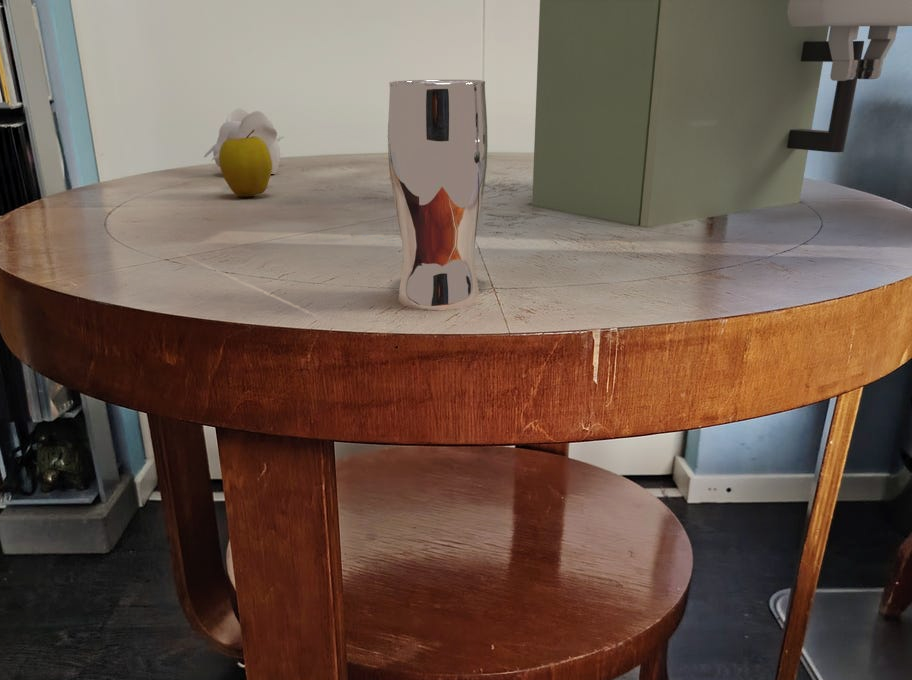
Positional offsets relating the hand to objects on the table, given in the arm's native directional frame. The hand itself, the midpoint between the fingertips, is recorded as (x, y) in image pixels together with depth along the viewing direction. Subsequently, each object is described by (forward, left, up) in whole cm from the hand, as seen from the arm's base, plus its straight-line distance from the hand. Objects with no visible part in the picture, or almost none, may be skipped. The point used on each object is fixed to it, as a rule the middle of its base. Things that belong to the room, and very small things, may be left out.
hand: (854, 80), depth 88 cm
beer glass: (+35, +37, -14) cm, 53 cm away
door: (+9, +4, -13) cm, 17 cm away
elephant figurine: (+76, -32, -14) cm, 84 cm away
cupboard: (+17, -4, -14) cm, 22 cm away
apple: (+68, -11, -14) cm, 70 cm away
